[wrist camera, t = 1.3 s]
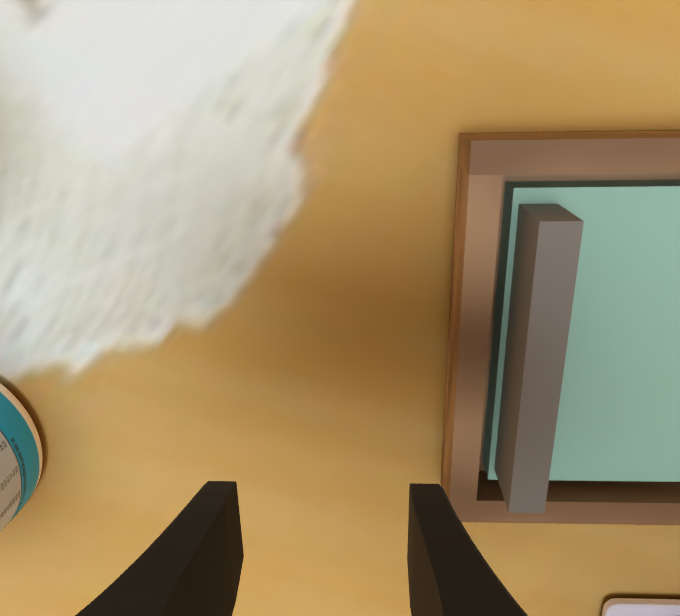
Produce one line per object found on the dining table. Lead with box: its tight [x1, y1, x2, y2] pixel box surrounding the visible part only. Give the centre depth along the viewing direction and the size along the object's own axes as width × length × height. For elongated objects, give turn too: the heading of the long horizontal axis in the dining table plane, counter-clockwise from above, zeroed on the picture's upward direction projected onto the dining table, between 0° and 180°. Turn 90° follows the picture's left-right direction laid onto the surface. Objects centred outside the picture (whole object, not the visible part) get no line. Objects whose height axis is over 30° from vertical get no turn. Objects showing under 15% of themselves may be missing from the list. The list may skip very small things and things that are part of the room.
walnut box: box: [441, 130, 680, 525], centre depth 21 cm, size 14×15×2 cm
